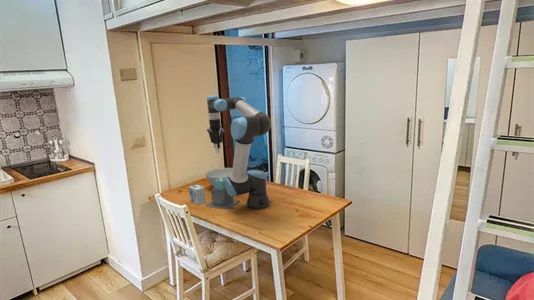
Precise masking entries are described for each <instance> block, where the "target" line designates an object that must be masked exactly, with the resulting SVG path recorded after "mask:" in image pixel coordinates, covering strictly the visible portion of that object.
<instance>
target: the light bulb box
mask: <svg viewBox="0 0 534 300" xmlns="http://www.w3.org/2000/svg"><path fill="white" fill-rule="evenodd" d="M188 191H189V199H190V202H192V203H193V202H194V204H195V205H197V204H198V205H200V204H204V203H206V202H207V201H206V200H207V199H206V193H205V191H206V190H205V187H204V186H202V185H199V184H194V185H190V186H188Z"/></svg>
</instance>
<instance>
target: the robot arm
mask: <svg viewBox="0 0 534 300" xmlns="http://www.w3.org/2000/svg"><path fill="white" fill-rule="evenodd" d="M206 104H207V111H208V122H209V128H207V129H206V131H207V132H208V136H209V138H210V142H211V143H213V145H214V149H215V154H219V153H221V151H220V148H221V143H222V144H223V139H224V132H225V128H222V125H221V115H220V114H221V113H220V112H224V111H230V110H231V111H233V110H235V111H237V113H239V114H241V115H242V116H240V117H236V118H234V119H233V120H232V121H231V124H230V136H231V138H232V139H233V140H234V142H235V144H234V145H235V147H234V155H233V162H232V168H233V169H232V172H231V173H230V174H229V178H227V179H225V187H226V190H227V192H228V194H229V195H230V196H233V197H237V196H241V195H244V194H248V196H247V200H246V207H247V208H248V209H250V210H257V211H258V210H264V209H266V208H268V207H270V206H271V201H270V199H269V196H268V193H267V178H266V172H265V171H262V170H259V169H250V170H248V164H249V157H250V153H251V151H250V150H251V146H252V144H253V143H254V142H255V138H256V137H260V136H261V137H262V136H264V135H266V134H267V133H268V132H269V131H270V129H271V127H272V121H271V118H270V116H269V115H267V114H266V113H265V112H262V111H259V110H257V108H255V107H253V106H251V105H250V104H249V103H248V102H247V99H246V98H245V97H244V96H238V97H229V98H228V97H226V98H219V96H218V95H208V96H207V97H206Z"/></svg>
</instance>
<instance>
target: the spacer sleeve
mask: <svg viewBox="0 0 534 300" xmlns="http://www.w3.org/2000/svg"><path fill="white" fill-rule="evenodd" d="M219 179H220V178H218V179H216V180H214V185H215V187H214V188H215V189H216V190H225V189H226V187H225V179H227V178H223V181H219Z"/></svg>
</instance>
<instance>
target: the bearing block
mask: <svg viewBox="0 0 534 300" xmlns="http://www.w3.org/2000/svg"><path fill="white" fill-rule="evenodd" d="M210 191H211V192H210V194H211V201H210V202H208V203H207V204H205V207H206V208H207V207H208V208H215V209H223V210H231V209H232V208H234V207H235V206H236V205H237V204H240V203H241V199H235V198H234V196H230V195H229V194H228V192H227V190H226V189H225V190H216V189H215V187H214V188H212V189H211V190H210Z"/></svg>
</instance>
